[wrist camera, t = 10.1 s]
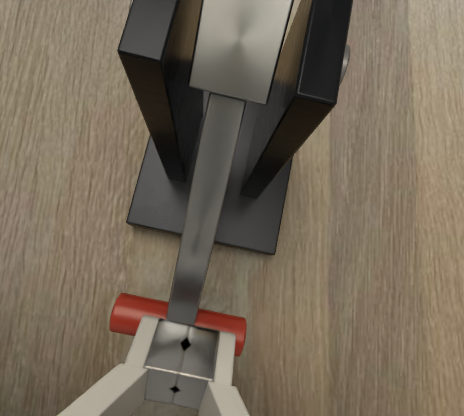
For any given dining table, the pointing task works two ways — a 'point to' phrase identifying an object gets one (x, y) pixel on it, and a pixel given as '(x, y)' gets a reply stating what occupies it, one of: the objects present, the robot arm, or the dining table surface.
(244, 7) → the power lever
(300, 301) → the dining table surface
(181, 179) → the switch bracket
